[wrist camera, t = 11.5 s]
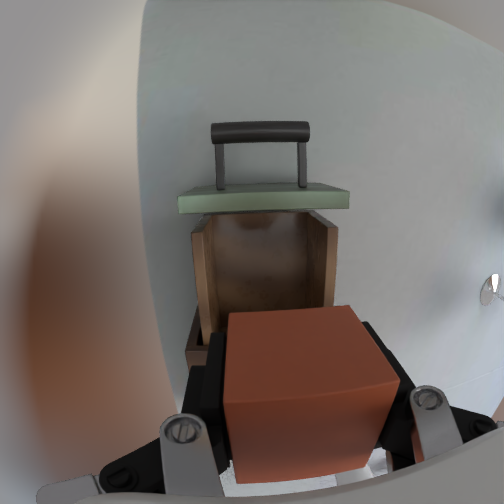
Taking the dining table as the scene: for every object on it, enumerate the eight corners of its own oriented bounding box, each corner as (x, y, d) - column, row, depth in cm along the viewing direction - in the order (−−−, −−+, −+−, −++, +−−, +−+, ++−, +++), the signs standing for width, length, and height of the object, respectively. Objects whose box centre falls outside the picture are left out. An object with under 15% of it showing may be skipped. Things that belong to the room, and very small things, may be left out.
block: (228, 312, 10) (222, 402, 6) (349, 304, 11) (401, 379, 6) (236, 399, 12) (236, 484, 7) (336, 390, 12) (365, 468, 8)
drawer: (192, 132, 24) (173, 120, 17) (319, 129, 25) (348, 117, 17) (207, 328, 30) (199, 376, 23) (315, 322, 30) (334, 367, 23)
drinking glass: (370, 438, 39) (396, 506, 25) (355, 459, 41) (376, 522, 27) (334, 442, 39) (356, 516, 24) (322, 463, 41) (338, 530, 26)
